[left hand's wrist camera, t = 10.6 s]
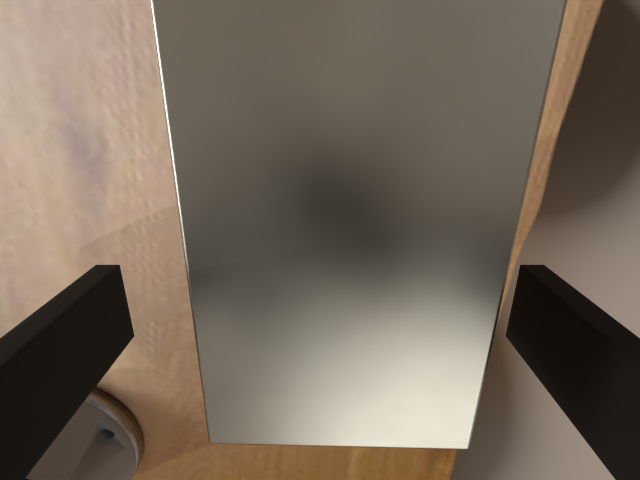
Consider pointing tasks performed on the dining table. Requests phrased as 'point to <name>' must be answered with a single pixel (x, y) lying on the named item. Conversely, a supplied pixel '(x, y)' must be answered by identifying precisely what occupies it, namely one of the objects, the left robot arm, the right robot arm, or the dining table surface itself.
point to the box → (350, 205)
